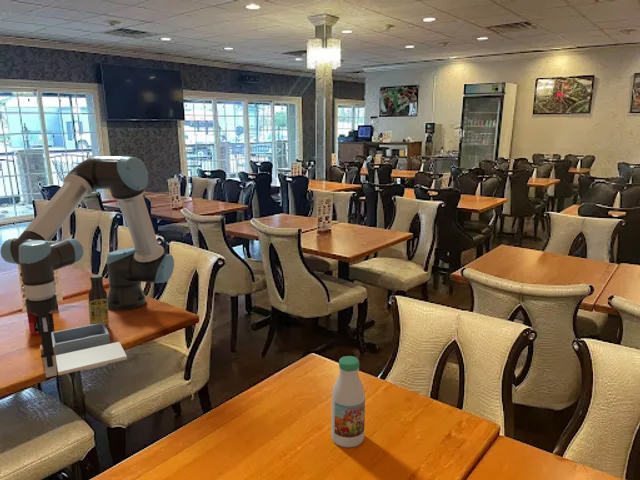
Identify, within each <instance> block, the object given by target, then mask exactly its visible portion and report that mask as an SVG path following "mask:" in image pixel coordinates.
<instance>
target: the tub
mask: <svg viewBox="0 0 640 480" xmlns="http://www.w3.org/2000/svg"><path fill="white" fill-rule="evenodd" d="M51 335H52V342H54V343H55V353H56V355H60V354H65V353H69V352H74V351H79V350H83V349H88V348H92V347H97V346H102V345H106V344H111V340H110V333H109V331H108V328H106V326H105V324H104V322H102V323H97V324H92V325H90V324H88V325H82V326H77V327H73V328H72V327H71V328H67V329H62V330H56V331H52V332H51Z"/></svg>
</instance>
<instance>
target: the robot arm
mask: <svg viewBox="0 0 640 480" xmlns="http://www.w3.org/2000/svg"><path fill="white" fill-rule="evenodd" d="M148 178H149V173H148V169H147V167H146V165H145V163H144V162H143V161H142V160H141V159H140V158H138V157H136V156H135V157H134V156H129V155H121V156H120V155H119V156H118V155H117V156H116V155H115V156H113V155H96V156H92V157H89V158H87V159H85V160H83V161H81V162H80V163H79V164H77V165H76V166H75V167H74V168H72V169H71V170H70V171H69V172H68V173H67V174H66V175H65V177H64V179H63V184H62V185H61V187H60V188H58V190H57V191H56V193H55V194H54V195H53V196H52V197H51V198H50V199H49V201H48V202H47V203H46V204H45V205H44V206H43V208H42V209H41V211H39V213H37V215H36V216H35V217H34V219H32V221H31V222H30V223H29V224H28V226H27V227H26V228H25V229H24V230H23V232H22V233H21V234H20V236H18V238H16V237H15V238H14V237H13V238H9V239H7V240H4V242H2V244H1V245H0V255H1V258H2V259H3V261H4V262H6V263H9V264H15V265H19V266H20V272H21V279H22V284H23V286H21V288H20V290H21V291H22V292H23V291H24V292H23V293H24V297H25V298H26V299H25V307H26V313H27V312H29V313H32V314H35V313H36V314H37V315H36V316H35V318H36V324H37V325H38V332H39V334H41V335H40V338H41V344H40V345H43V353H44V354H43V355H41V354H40V358H41V359H42V358H43V357H44V365H45V372H44V373H45V377H46V378H50V377H54V376H57V375H58V370H56V363H55V356H54V354H55V353H54V350H53V342H52V335H51V332H53V331H54V330H53V329H52V316H51V313H48V312H49V311H52V312H53V311H55V309H57V308H58V298H57V295H56V294H57V290H56V281H55V276H54V272H55V271H57V270H59V269H62V268H65V267H68V266H70V265H71V266H72V265H74V264H75V263H77V262H79V261H80V260H81V259H82V258H83V256H84V247H83V245H82V244H81V242H80V241H78V240H77V239H75V238H67V239H66V238H64V239H62V240H52V239H53V238H54V237H55V236H56V234H57V233H58V232H59V231H60V229H61V228H62V227H63V225H64V224H65V223H66V221H68V219H69V218H70V216H71V215H72V214H73V213H74V211H75V210H76V209H77V208H78V206H79V205H80V204H81V202H82V201H83V200H84V198H86V197H90V196H91V195H92V193H93V192H94V191H96V190H109V191H110V194H111V197H112V198H113V199H114V200H116V201H118V204H119V206H120V209H121V212H122V214H123V218H124V221H125V223H126V227H127V228H128V232H129V234H130V238H131V241H132V243H133V246H134V247H129V248H128V247H127V248H122V249H121V248H120V249H117V250H114V251H111V252H109V253H108V254H107V255H106V265H107V274H108V275H107V276H108V284H109V287H108V293H107V301H108V310H111V311H126V310H127V311H128V310H129V311H130V310H132V309H133V310H134V309H136V308H140V307H143V306H144V305H145V304H146V303H147V301H146V299H147V298H146V295H145V293H144V290H143V289H142V286H141V283H152V284H153V283H154V284H159V283H160V284H164V283H165V284H166V283H167V282H168V281H169V280H170V278H171V277H172V275H173V272H174V269H175V268H174V267H175V259H174V257H173V255H171V254H169V253H166V251H165V248H164V247H163V246H162V245H160V244H159V242H158V239H157V236H156V233H155V229H154V226H153V223H152V220H151V217H150V214H149V210H148V206H147V203H146V202H145V197H144V195H143V194H144V193H145V191H146V187H147V185H148V183H149V179H148ZM140 282H141V283H140ZM52 330H53V331H52ZM54 346H55V343H54Z"/></svg>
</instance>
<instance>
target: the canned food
mask: <svg viewBox="0 0 640 480" xmlns="http://www.w3.org/2000/svg"><path fill="white" fill-rule="evenodd" d="M48 313H51V316H52V329H53V330H52V332H54V330H55V323H54V314H53V310H52V311H49V312H48ZM26 315H27V321H28V322H27V323H28V330H29V332H30V335H32V336H41V334H39V332H38V325H37V324H36V318H35V316H36V315H37V314H36V313H35V314H32V313H29V312H27V311H26Z"/></svg>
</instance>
